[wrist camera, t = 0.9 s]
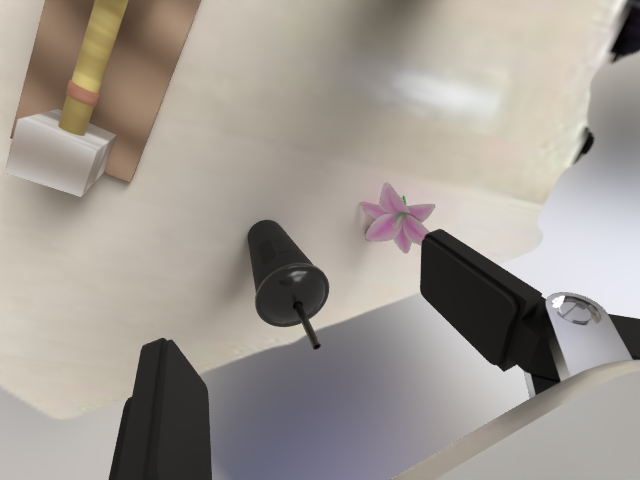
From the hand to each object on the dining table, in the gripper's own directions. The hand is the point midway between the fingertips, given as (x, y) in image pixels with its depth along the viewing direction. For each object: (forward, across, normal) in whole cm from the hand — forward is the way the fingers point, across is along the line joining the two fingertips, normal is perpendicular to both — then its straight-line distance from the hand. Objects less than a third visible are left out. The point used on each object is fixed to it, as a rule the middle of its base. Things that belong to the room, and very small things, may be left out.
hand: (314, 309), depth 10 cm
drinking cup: (+28, 0, +12) cm, 30 cm away
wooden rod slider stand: (+28, +5, -12) cm, 31 cm away
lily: (+28, -19, +15) cm, 37 cm away
